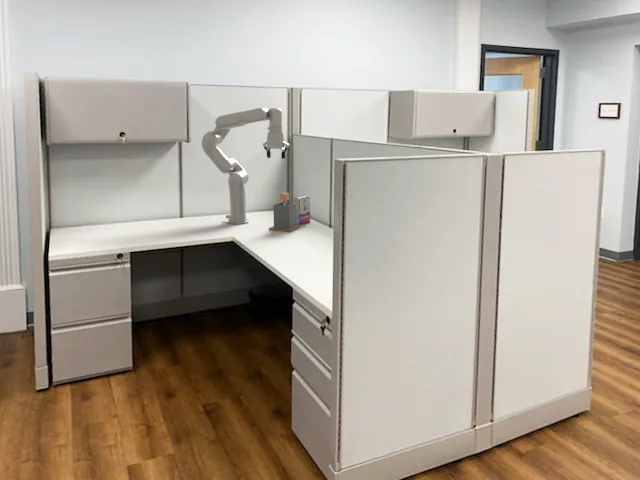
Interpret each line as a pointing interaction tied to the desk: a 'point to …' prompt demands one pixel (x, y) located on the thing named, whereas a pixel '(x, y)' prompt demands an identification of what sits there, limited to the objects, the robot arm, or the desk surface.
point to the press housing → (285, 217)
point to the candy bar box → (302, 209)
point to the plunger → (284, 197)
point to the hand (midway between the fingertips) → (276, 158)
